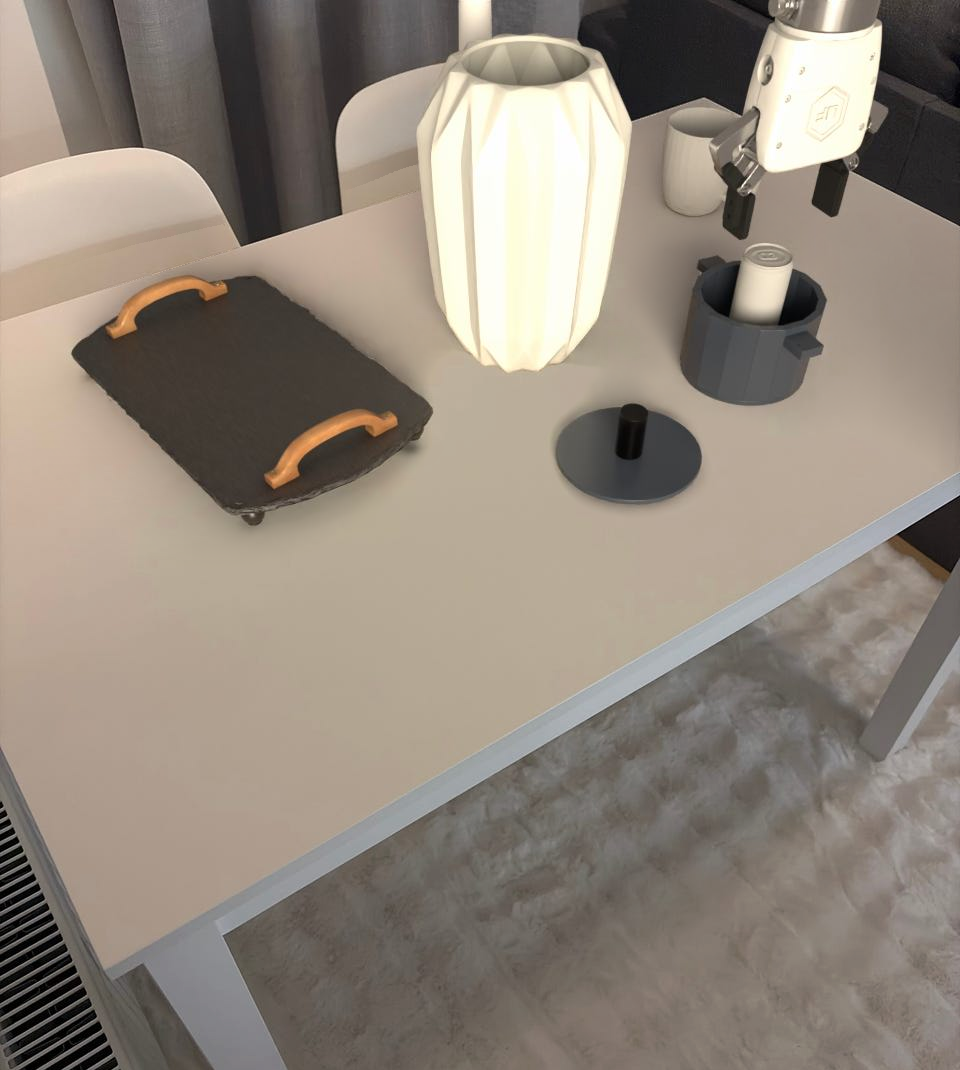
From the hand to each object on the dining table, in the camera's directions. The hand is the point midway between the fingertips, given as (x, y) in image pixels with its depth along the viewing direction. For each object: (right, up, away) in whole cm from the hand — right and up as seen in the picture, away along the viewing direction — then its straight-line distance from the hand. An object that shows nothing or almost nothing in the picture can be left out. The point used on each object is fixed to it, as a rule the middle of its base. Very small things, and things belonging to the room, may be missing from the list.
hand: (779, 221), depth 86 cm
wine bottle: (-27, +8, +27) cm, 40 cm away
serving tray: (-50, -14, +10) cm, 53 cm away
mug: (+1, +17, +34) cm, 38 cm away
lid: (-13, -21, +3) cm, 25 cm away
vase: (-23, -6, +16) cm, 29 cm away
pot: (0, -10, +13) cm, 16 cm away
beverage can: (0, -10, +12) cm, 16 cm away
